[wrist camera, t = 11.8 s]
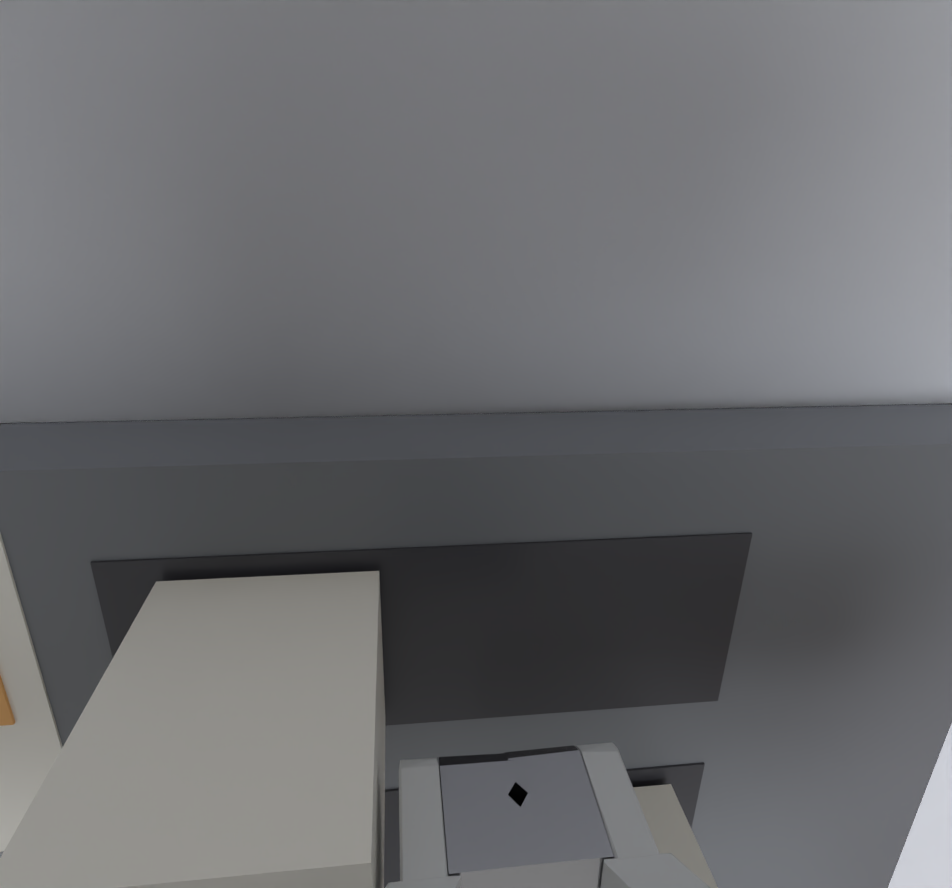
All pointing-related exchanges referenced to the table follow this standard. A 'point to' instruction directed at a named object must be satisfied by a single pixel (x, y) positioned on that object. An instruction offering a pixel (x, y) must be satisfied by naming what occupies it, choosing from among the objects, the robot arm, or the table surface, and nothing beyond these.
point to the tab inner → (224, 746)
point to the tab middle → (672, 829)
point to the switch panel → (543, 596)
